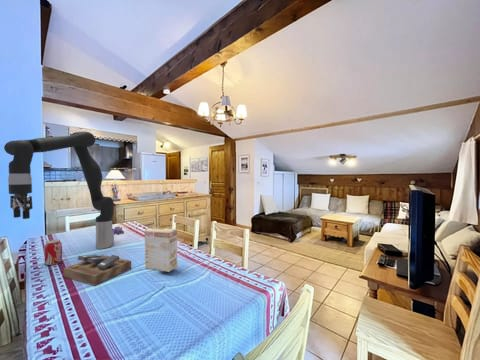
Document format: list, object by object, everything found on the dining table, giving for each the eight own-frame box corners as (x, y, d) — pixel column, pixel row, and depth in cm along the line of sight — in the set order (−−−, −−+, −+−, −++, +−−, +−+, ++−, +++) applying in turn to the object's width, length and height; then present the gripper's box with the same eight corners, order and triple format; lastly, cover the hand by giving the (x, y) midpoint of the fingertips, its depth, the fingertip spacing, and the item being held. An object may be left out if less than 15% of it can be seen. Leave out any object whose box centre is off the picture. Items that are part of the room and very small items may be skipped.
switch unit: (102, 262, 114) (102, 253, 114) (131, 268, 106) (131, 258, 106) (63, 276, 98) (63, 266, 97) (94, 285, 89) (94, 274, 89)
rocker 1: (94, 258, 108) (95, 254, 109) (99, 259, 107) (100, 255, 107) (77, 259, 101) (78, 255, 102) (83, 260, 100) (84, 257, 100)
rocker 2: (103, 260, 106) (104, 256, 106) (109, 261, 104) (109, 257, 104) (86, 261, 99) (87, 257, 99) (93, 263, 97) (93, 259, 97)
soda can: (51, 266, 109) (51, 243, 109) (41, 265, 110) (40, 242, 110) (65, 261, 116) (65, 239, 115) (55, 260, 117) (54, 238, 117)
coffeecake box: (178, 266, 108) (177, 228, 108) (169, 272, 101) (168, 232, 101) (154, 262, 113) (154, 226, 113) (144, 268, 106) (144, 229, 106)
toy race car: (98, 237, 161) (98, 229, 161) (119, 233, 173) (119, 225, 173) (102, 240, 155) (102, 231, 155) (124, 235, 167) (123, 227, 167)
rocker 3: (113, 257, 103) (112, 254, 103) (119, 258, 102) (118, 255, 101) (97, 268, 96) (96, 265, 96) (104, 269, 95) (103, 266, 94)
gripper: (38, 183, 98) (39, 217, 98) (23, 183, 104) (24, 215, 104) (16, 183, 91) (18, 220, 91) (1, 183, 97) (3, 218, 97)
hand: (21, 218), depth 98 cm, fingers open, 8 cm apart
